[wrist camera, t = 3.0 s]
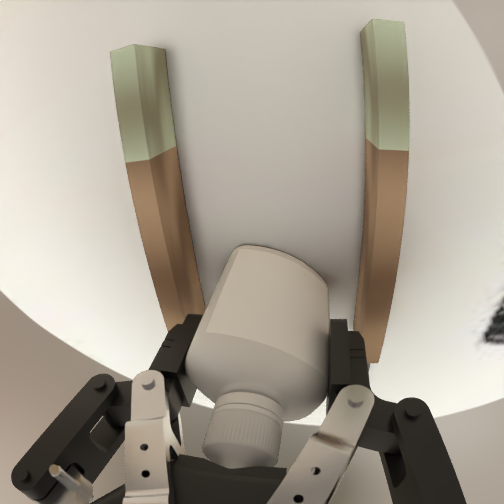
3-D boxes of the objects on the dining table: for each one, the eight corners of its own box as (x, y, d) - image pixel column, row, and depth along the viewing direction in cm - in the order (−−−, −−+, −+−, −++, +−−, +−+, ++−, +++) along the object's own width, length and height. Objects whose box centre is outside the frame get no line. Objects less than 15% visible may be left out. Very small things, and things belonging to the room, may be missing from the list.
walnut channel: (143, 54, 13) (109, 51, 10) (386, 33, 11) (403, 22, 8) (190, 321, 21) (175, 353, 18) (372, 326, 18) (378, 362, 16)
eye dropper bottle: (278, 217, 16) (218, 447, 6) (337, 295, 18) (340, 511, 7) (214, 259, 18) (115, 457, 8) (275, 326, 20) (236, 519, 9)
